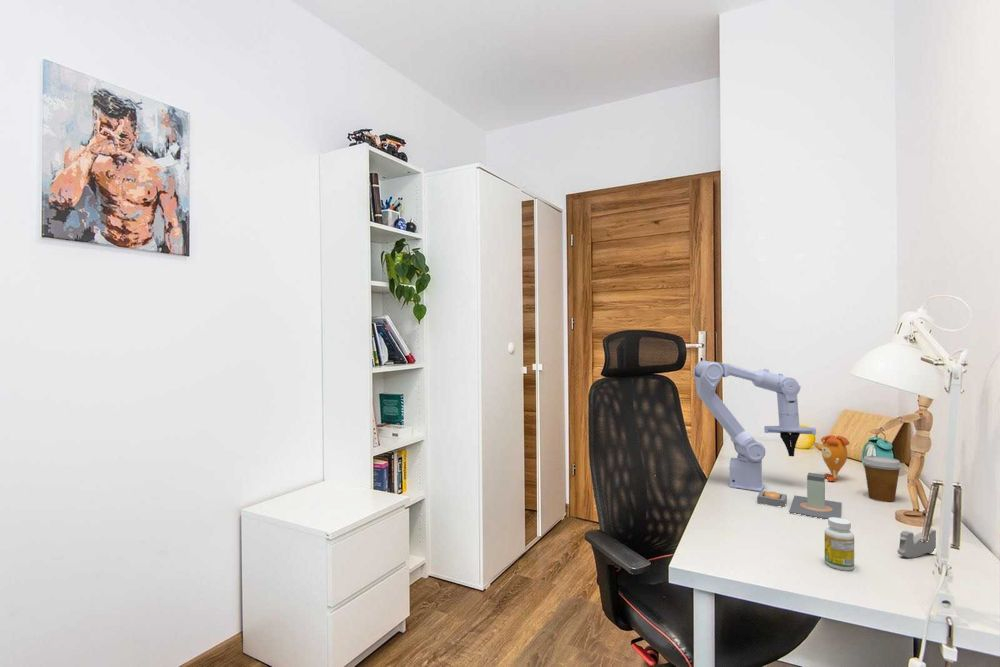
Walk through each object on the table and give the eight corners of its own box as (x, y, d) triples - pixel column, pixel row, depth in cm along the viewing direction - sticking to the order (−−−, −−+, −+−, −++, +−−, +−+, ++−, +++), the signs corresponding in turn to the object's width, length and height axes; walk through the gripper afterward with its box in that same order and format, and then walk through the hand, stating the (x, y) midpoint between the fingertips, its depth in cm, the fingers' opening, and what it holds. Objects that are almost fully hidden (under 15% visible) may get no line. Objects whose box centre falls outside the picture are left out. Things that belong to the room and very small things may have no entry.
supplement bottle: (852, 573, 105) (852, 527, 105) (822, 565, 109) (822, 520, 109) (855, 564, 109) (855, 519, 110) (826, 557, 113) (826, 514, 113)
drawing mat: (788, 513, 142) (788, 511, 142) (794, 496, 156) (794, 494, 156) (840, 522, 135) (840, 520, 135) (841, 503, 150) (841, 502, 150)
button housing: (757, 503, 150) (757, 496, 150) (760, 497, 156) (760, 490, 156) (784, 507, 146) (784, 500, 146) (786, 501, 152) (786, 494, 152)
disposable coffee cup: (896, 496, 157) (896, 457, 157) (905, 505, 148) (905, 464, 148) (859, 492, 161) (859, 454, 161) (866, 501, 152) (866, 460, 152)
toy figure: (818, 474, 182) (818, 432, 182) (844, 477, 179) (844, 434, 179) (825, 483, 171) (826, 438, 171) (854, 486, 168) (854, 440, 168)
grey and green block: (807, 507, 145) (807, 475, 145) (808, 503, 148) (808, 472, 148) (823, 509, 143) (823, 477, 143) (824, 506, 146) (824, 474, 146)
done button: (763, 500, 150) (763, 494, 150) (765, 497, 154) (765, 490, 154) (779, 503, 148) (779, 496, 148) (780, 499, 151) (780, 493, 152)
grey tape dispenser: (935, 555, 115) (902, 559, 112) (929, 552, 116) (896, 557, 113) (935, 529, 115) (902, 533, 112) (929, 527, 116) (896, 531, 114)
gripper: (815, 412, 165) (818, 454, 165) (765, 411, 173) (768, 451, 173) (813, 416, 159) (817, 459, 159) (762, 414, 167) (765, 456, 167)
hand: (791, 455), depth 165 cm, fingers closed
